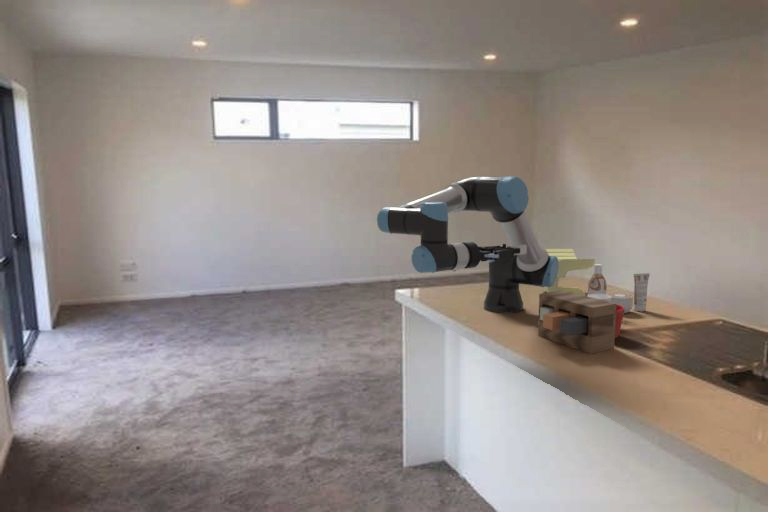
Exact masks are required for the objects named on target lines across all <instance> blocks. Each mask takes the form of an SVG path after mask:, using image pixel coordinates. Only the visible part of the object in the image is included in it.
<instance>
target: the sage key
mask: <svg viewBox="0 0 768 512" xmlns="http://www.w3.org/2000/svg"><path fill="white" fill-rule="evenodd" d="M549 313H554V307H552V306H547V307H541V308H540V320H542V321H543V314H549Z"/></svg>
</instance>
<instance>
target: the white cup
mask: <svg viewBox="0 0 768 512" xmlns="http://www.w3.org/2000/svg"><path fill="white" fill-rule="evenodd" d="M586 296H587V297H591V298H595V299H600V300H604V301H608V302H611V296H609V295H607V294H606V295H605V294H589V295H588V294H586Z"/></svg>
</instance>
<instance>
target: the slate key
mask: <svg viewBox="0 0 768 512" xmlns="http://www.w3.org/2000/svg"><path fill="white" fill-rule="evenodd" d="M588 318H589V316H585V315H582V316H577V317H571V318H566V319H561V329H560V332H561V333H564V334H567V335H570V336H572V335H577V334H582V333H587V332H588Z"/></svg>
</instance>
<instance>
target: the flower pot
mask: <svg viewBox="0 0 768 512" xmlns="http://www.w3.org/2000/svg"><path fill="white" fill-rule="evenodd" d="M624 309H625V308H624V307H623V306H621V305H616V324H615V339H616V338H618V337H619V335H620V332H621V328H622V322H623V318H624V314H625V313H624Z"/></svg>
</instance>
